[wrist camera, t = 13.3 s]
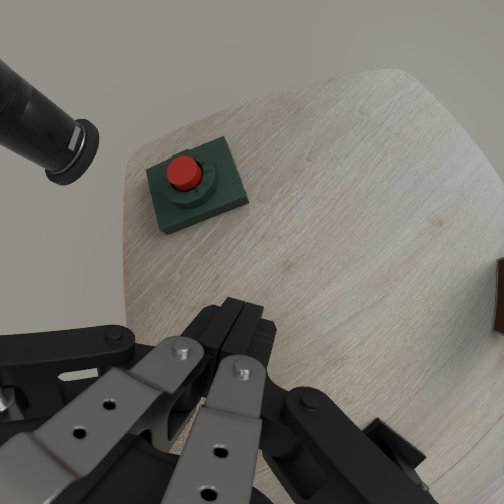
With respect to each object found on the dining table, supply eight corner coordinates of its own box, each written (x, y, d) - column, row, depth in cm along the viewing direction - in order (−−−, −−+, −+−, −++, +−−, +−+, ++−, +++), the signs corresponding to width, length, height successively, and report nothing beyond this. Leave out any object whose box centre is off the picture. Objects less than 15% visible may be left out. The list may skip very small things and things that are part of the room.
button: (176, 195, 28) (170, 189, 26) (170, 169, 29) (163, 163, 27) (205, 183, 28) (199, 177, 26) (197, 158, 28) (192, 151, 27)
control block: (167, 234, 32) (152, 227, 28) (153, 176, 33) (138, 164, 29) (249, 202, 31) (243, 190, 27) (227, 144, 32) (220, 127, 28)
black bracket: (327, 460, 26) (338, 523, 14) (377, 417, 26) (412, 470, 14) (378, 491, 24) (399, 545, 12) (423, 453, 24) (460, 499, 12)
